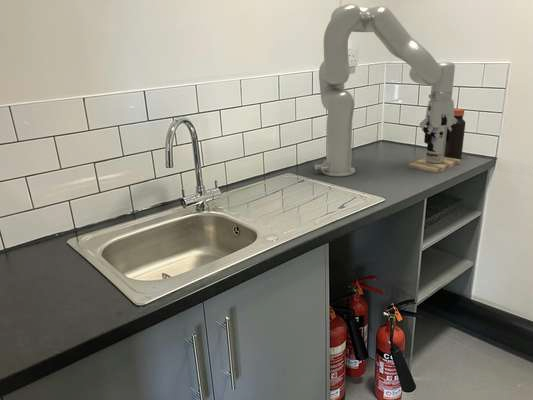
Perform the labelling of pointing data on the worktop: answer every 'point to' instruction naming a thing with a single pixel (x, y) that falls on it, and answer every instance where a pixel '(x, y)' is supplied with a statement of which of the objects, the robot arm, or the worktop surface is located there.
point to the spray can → (437, 143)
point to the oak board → (434, 165)
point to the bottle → (456, 137)
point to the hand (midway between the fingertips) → (436, 142)
